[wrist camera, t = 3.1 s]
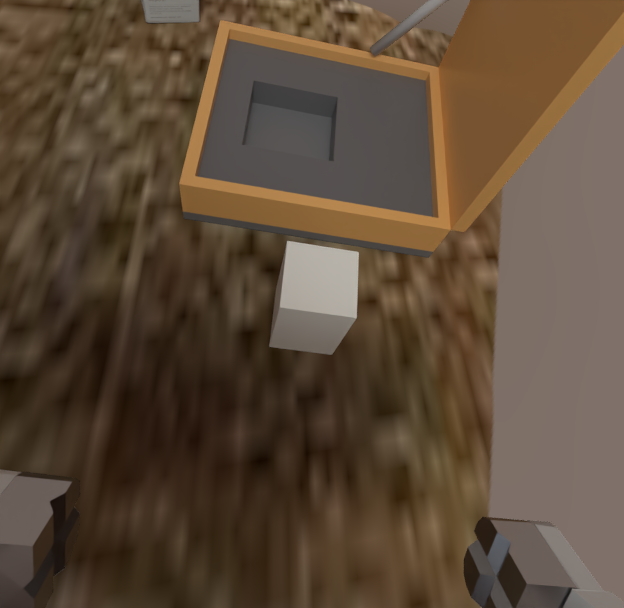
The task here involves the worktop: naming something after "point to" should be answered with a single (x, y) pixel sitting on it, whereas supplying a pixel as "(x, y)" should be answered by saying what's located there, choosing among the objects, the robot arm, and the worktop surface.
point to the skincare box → (171, 11)
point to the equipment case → (386, 122)
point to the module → (314, 298)
